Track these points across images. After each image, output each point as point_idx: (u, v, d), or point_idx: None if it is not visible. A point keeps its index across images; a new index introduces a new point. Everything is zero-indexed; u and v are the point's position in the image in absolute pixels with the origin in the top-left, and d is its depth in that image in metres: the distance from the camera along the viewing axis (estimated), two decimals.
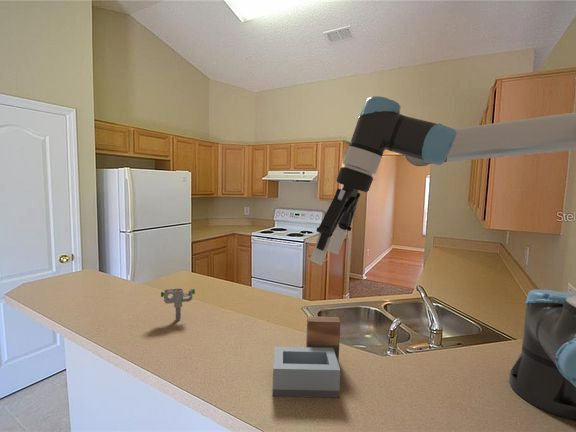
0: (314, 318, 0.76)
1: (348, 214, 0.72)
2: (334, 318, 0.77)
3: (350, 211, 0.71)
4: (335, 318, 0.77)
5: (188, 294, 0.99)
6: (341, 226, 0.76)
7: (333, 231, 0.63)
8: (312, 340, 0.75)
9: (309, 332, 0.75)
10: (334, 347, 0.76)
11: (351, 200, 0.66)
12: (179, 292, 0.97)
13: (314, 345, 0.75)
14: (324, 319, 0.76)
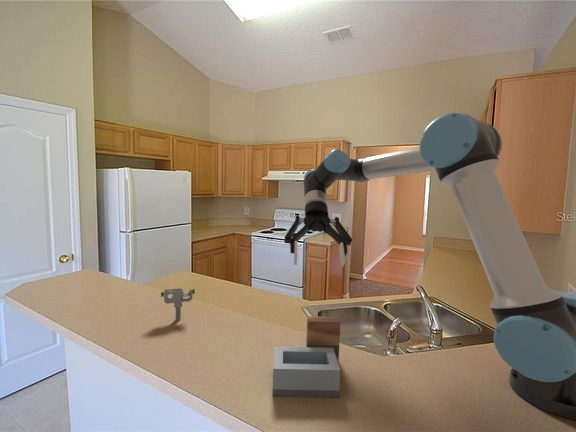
0: (314, 318, 0.76)
1: (330, 231, 0.93)
2: (334, 318, 0.77)
3: (327, 228, 0.93)
4: (335, 318, 0.77)
5: (188, 294, 0.99)
6: None
7: (295, 237, 0.90)
8: (312, 340, 0.75)
9: (309, 332, 0.75)
10: (334, 347, 0.76)
11: None
12: (179, 292, 0.97)
13: (314, 345, 0.75)
14: (324, 319, 0.76)
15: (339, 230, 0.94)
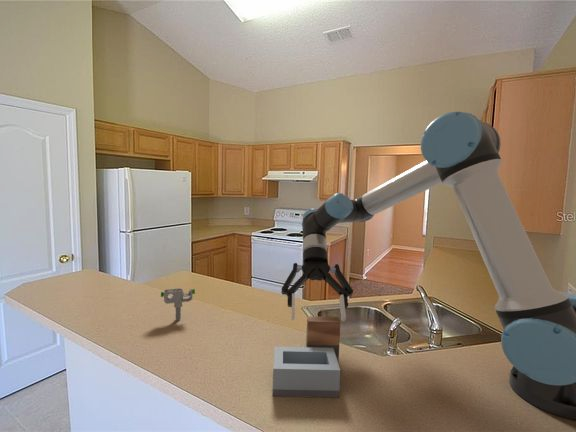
0: (314, 318, 0.76)
1: (329, 281, 0.87)
2: (334, 318, 0.77)
3: (327, 277, 0.88)
4: (335, 318, 0.77)
5: (188, 294, 0.99)
6: None
7: (292, 289, 0.85)
8: (312, 340, 0.75)
9: (309, 332, 0.75)
10: (334, 347, 0.76)
11: None
12: (179, 292, 0.97)
13: (314, 345, 0.75)
14: (324, 319, 0.76)
15: (339, 279, 0.88)
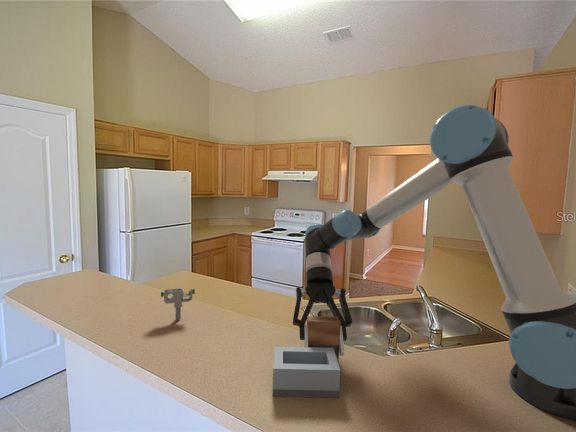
0: (314, 318, 0.76)
1: (331, 306, 0.81)
2: (334, 318, 0.77)
3: (329, 301, 0.81)
4: (335, 318, 0.77)
5: (188, 294, 0.99)
6: (340, 325, 0.79)
7: (304, 319, 0.78)
8: (312, 340, 0.75)
9: (309, 332, 0.75)
10: (334, 347, 0.76)
11: None
12: (179, 292, 0.97)
13: (314, 345, 0.75)
14: (324, 319, 0.76)
15: (342, 305, 0.82)
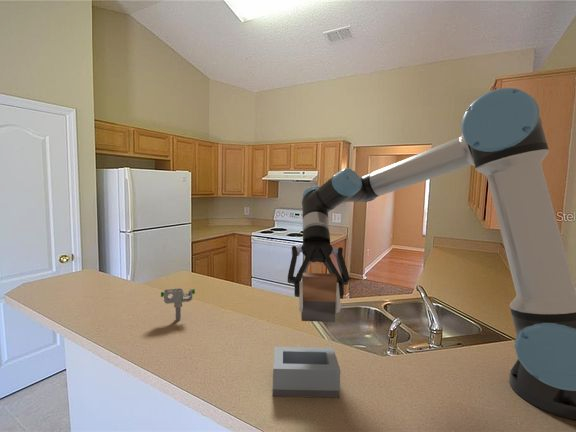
0: (309, 274, 0.73)
1: (327, 264, 0.78)
2: (330, 274, 0.74)
3: (325, 259, 0.78)
4: (331, 274, 0.74)
5: (188, 294, 0.99)
6: None
7: (299, 276, 0.75)
8: (308, 296, 0.72)
9: (304, 288, 0.72)
10: (330, 304, 0.72)
11: (309, 248, 0.80)
12: (179, 292, 0.97)
13: (309, 301, 0.72)
14: (320, 275, 0.73)
15: (339, 264, 0.78)
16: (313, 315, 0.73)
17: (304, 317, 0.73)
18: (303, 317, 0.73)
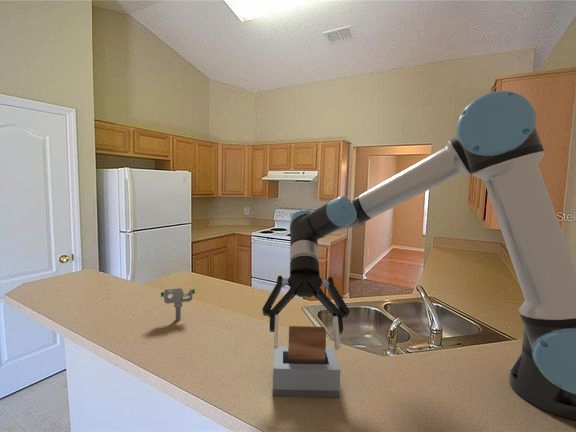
0: (296, 329, 0.67)
1: (321, 298, 0.71)
2: (319, 328, 0.68)
3: (318, 293, 0.72)
4: (320, 328, 0.68)
5: (188, 294, 0.99)
6: None
7: (276, 309, 0.69)
8: (294, 354, 0.66)
9: (290, 344, 0.66)
10: (319, 362, 0.66)
11: None
12: (179, 292, 0.97)
13: (296, 359, 0.66)
14: (308, 330, 0.67)
15: (333, 296, 0.72)
16: None
17: None
18: None
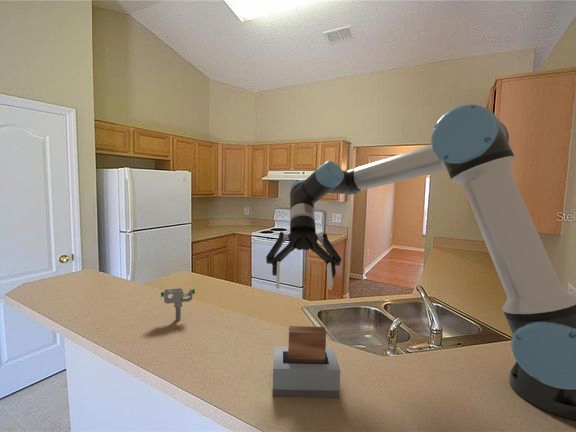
0: (296, 329, 0.67)
1: (317, 249, 0.84)
2: (319, 328, 0.68)
3: (314, 246, 0.84)
4: (320, 328, 0.68)
5: (188, 294, 0.99)
6: None
7: (278, 257, 0.81)
8: (294, 354, 0.66)
9: (290, 344, 0.66)
10: (319, 362, 0.66)
11: None
12: (179, 292, 0.97)
13: (296, 359, 0.66)
14: (308, 330, 0.67)
15: (327, 248, 0.85)
16: None
17: None
18: None
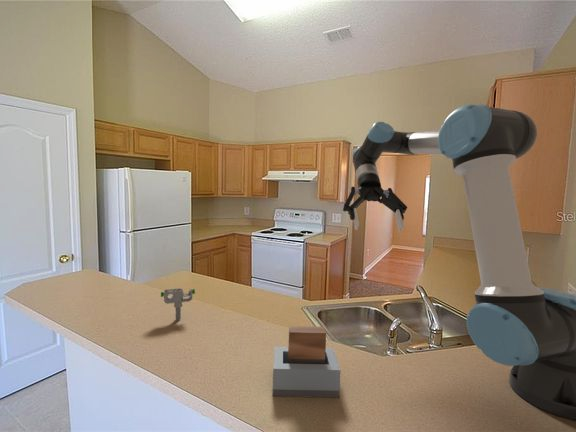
0: (296, 329, 0.67)
1: (385, 200, 0.99)
2: (319, 328, 0.68)
3: (382, 197, 0.99)
4: (320, 328, 0.68)
5: (188, 294, 0.99)
6: None
7: (354, 205, 0.96)
8: (294, 354, 0.66)
9: (290, 344, 0.66)
10: (319, 362, 0.66)
11: None
12: (179, 292, 0.97)
13: (296, 359, 0.66)
14: (308, 330, 0.67)
15: (393, 199, 1.00)
16: None
17: None
18: None
